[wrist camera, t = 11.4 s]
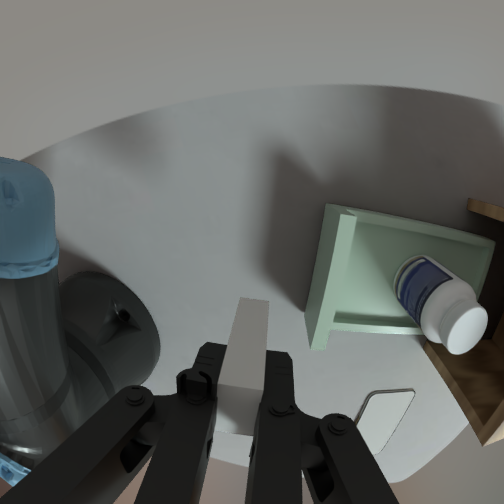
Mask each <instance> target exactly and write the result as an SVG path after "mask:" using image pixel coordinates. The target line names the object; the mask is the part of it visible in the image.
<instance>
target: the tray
mask: <svg viewBox="0 0 504 504" xmlns="http://www.w3.org/2000/svg"><path fill="white" fill-rule="evenodd" d="M495 243H496V242H495V241H493V240H491V239H488V238H486V237H484V236H480V235H476V234H473V233H469V232H465V231H461V230H457V229H453V228H449V227H444V226H440V225H436V224H431V223H427V222H423V221H418V220H413V219H409V218H404V217H399V216H394V215H389V214H384V213H379V212H374V211H369V210H363V209H358V208H352V207H346V206H341V205H335V204H329V203H326V205H325V211H324V217H323V223H322V229H321V235H320V240H319V246H318V251H317V256H316V262H315V267H314V272H313V277H312V282H311V287H310V291H309V296H308V301H307V305H306V310H305V314H304V317H305V323H306V328H307V334H308V340H309V345H310V350H321V351H324V350H325V347H326V344H327V340H328V337H329V334H330V330H342V331H355V332H370V333H389V334H415V335H424V334H423V332H422V331H421V330H420V328H419V327H418V326H417V325H416V323H415V322H414V321H413V319H412V318H411V317H410V315H409V314H408V313H407V312H406V310H405V309H404V308H403V307H402V306H401V304H400V303H399V302H398V300H397V299H396V297H395V294H394V289H393V283H394V278H395V275H396V273H397V271H398V269H399V268H400V266H401V265H402V264H403V263H404V262H405V261H406V260H408V259H409V258H411V257H413V256H417V255H426V256H429V257H431V258H433V259H435V260H436V261H437V262H439V263H440V264H442V265H443V266H445V267H446V268H447V269H449V270H450V271H452V272H453V273H454V274H456V275H457V276H459V277H460V278H461V279H463V280H464V281H465V282H467V283H468V284H469V285H470V286H471V287H472V288H473V290H474V292H475V295H476V302H478V299H479V296H480V294H481V291H482V288H483V285H484V282H485V279H486V275H487V272H488V269H489V266H490V262H491V259H492V255H493V251H494V247H495Z"/></svg>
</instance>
